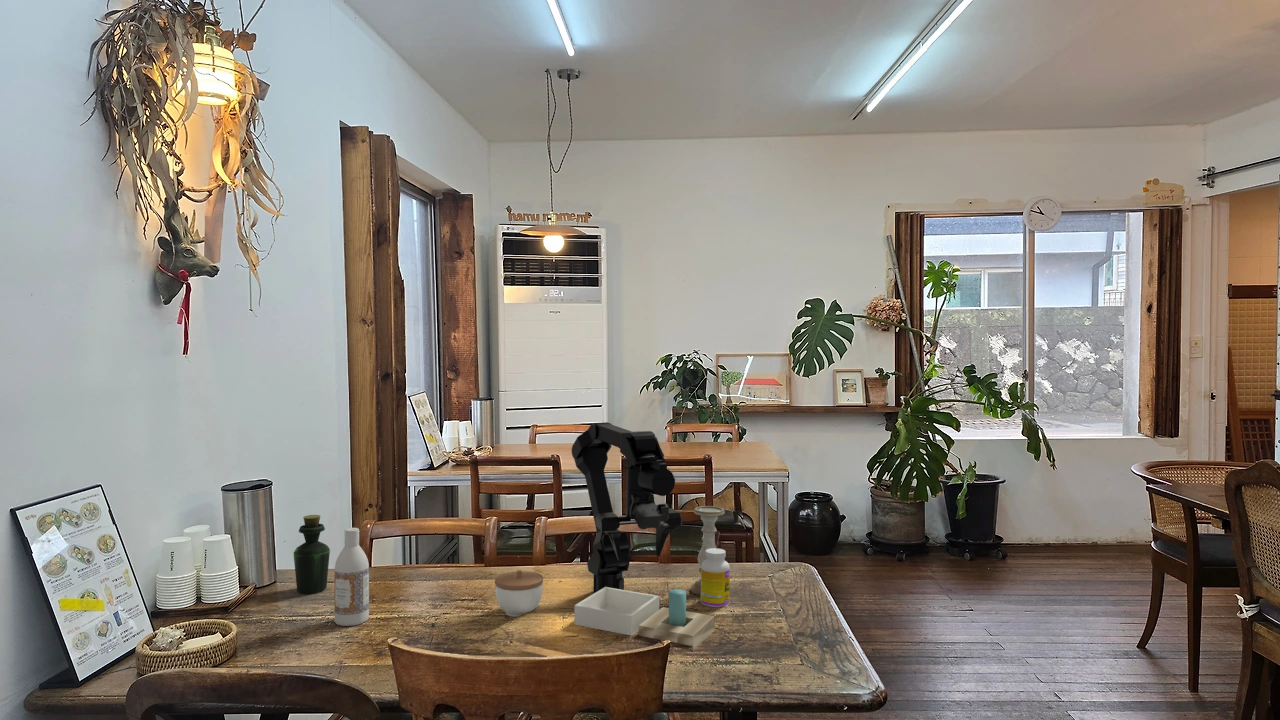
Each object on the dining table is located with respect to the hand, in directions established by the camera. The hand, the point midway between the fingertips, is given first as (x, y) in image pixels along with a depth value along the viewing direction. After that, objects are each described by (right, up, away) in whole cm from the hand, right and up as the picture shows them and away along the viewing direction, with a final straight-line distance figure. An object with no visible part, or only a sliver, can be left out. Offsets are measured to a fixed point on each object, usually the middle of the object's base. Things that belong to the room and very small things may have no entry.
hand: (638, 558), depth 164 cm
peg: (+8, -13, -10) cm, 19 cm away
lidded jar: (-27, -13, +2) cm, 30 cm away
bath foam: (-62, -13, -4) cm, 64 cm away
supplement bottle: (+18, -13, +7) cm, 23 cm away
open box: (-5, -13, -4) cm, 14 cm away
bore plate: (+8, -13, -10) cm, 19 cm away
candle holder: (+17, -13, +17) cm, 28 cm away
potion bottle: (-80, -12, +16) cm, 82 cm away
